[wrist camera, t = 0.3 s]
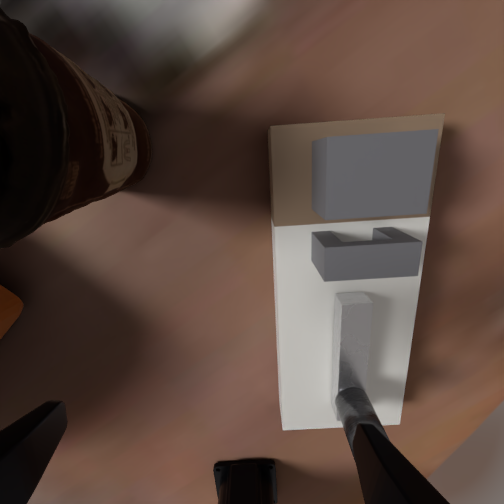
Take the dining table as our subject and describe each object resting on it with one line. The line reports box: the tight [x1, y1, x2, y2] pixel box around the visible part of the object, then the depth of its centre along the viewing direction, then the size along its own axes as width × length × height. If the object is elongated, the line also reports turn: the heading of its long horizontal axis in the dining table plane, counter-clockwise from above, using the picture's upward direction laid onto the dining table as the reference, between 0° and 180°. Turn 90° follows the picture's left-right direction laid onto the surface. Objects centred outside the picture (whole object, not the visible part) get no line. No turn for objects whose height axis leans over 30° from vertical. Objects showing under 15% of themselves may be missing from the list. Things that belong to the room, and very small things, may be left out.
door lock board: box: [268, 113, 445, 430], centre depth 19 cm, size 24×10×6 cm, turn 4°
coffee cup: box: [0, 8, 152, 248], centre depth 13 cm, size 9×8×13 cm
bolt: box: [331, 292, 390, 462], centre depth 18 cm, size 10×2×6 cm, turn 4°
